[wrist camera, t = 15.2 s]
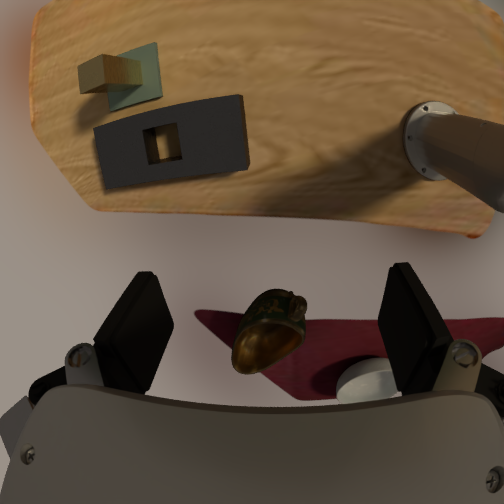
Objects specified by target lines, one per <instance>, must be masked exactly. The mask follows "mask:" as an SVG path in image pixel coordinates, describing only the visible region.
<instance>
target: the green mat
mask: <svg viewBox="0 0 504 504" xmlns="http://www.w3.org/2000/svg"><path fill="white" fill-rule="evenodd" d="M117 56H118V57H124V58H129V59H134V60H139V61H141V69H142V78H143V85H140V86H137V87H134V88H131V89H128V90H125V91H122V92H108V100H109V107H110V111H114V110H117V109H120V108H123V107H126V106H130V105H133V104H136V103H140V102H143V101H147V100H151V99H154V98H158V97H162V96H163V94H162V86H161V78H160V69H159V59H158V49H157V43H155V42H154V43H151V44H147V45H144V46H142V47H139V48H136V49H133V50H130V51H128V52H125V53H122V54H120V55H117Z"/></svg>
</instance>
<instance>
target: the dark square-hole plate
mask: <svg viewBox="0 0 504 504" xmlns="http://www.w3.org/2000/svg"><path fill="white" fill-rule="evenodd" d="M176 122H177V128H178V134H179V141H180V147H181V153H182V156H176V157H170V158H164V159H160V158H159V152H158V147H157V141H156V135H155V129H154V127H157V126H161V125H166V124H171V123H176ZM93 130H94V136H95V141H96V146H97V151H98V156H99V161H100V165H101V170H102V174H103V178H104V182H105V186H106V189H111V188H117V187H122V186H127V185H133V184H139V183H145V182H151V181H158V180H164V179H171V178H178V177H186V176H194V175H202V174H212V173H221V172H232V171H243V170H248V168H249V165H250V156H249V147H248V138H247V128H246V119H245V110H244V101H243V96H242V95H239V94H238V95H230V96H222V97H216V98H209V99H203V100H198V101H192V102H187V103H182V104H177V105H172V106H168V107H164V108H159V109H155V110H151V111H147V112H144V113H140V114H136V115H133V116H129V117H126V118H123V119H119V120H116V121H113V122H110V123H107V124H104V125H101V126H98V127H95V128H93Z"/></svg>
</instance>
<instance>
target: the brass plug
mask: <svg viewBox="0 0 504 504" xmlns="http://www.w3.org/2000/svg"><path fill="white" fill-rule="evenodd" d="M78 78H79V88H80V94H89V93H105V92H122V91H125V90H128V89H131V88H134V87H137V86H140V85H143V78H142V69H141V61H139V60H134V59H129V58H124V57H118V56H112V55H106V54H101V55H99V56H97V57H95V58H93V59H91V60H89V61H87V62H85V63H83V64H81V65H79V66H78Z"/></svg>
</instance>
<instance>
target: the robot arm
mask: <svg viewBox="0 0 504 504" xmlns="http://www.w3.org/2000/svg"><path fill="white" fill-rule="evenodd" d="M423 107H424V109H423ZM408 136H409V138H408ZM403 142H404V148H405V152H406V155H407V157H408V160H409V161H410V163H411V164H412V166H413V167H414V168H415V169H416V170H417V172H419V173H420V174H422V175H423V176H425V177H427V178H429V179H432V180H439V181H440V180H446V179H449V180H451V181H452V182H454V183H455V184H457V185H459V186H460V187H462V188H463V189H465V190H467V191H468V192H470V193H471V194H473V195H474V196H476V197H477V198H478V199H480V200H482V201H483V202H485V203H486V204H487V205H489V206H490V207H492V208H493V209H495V210H496V211H499V212H501V213H504V125H502V124H498V123H495V122H491V121H487V120H482V119H478V118H473V117H469V116H464V115H459V114H458V113H457V112H456V111H455V110H454V109H453V108H452V107H450V106H449V105H447V104H445V103H442V102H439V101H427V102H423V103H421V104H419V105H418V106H416V107H415V108H414V109H413V110H412V111H411V113H410V114H409V116H408V118H407V120H406V123H405V127H404V132H403ZM422 168H423V169H422ZM378 326H379V329H380V332H381V336H382V339H383V342H384V345H385V348H386V352H387V355H388V358H389V362H390V365H391V369H392V373H393V376H394V380H395V384H396V388H397V390H398V391H399V392H400V391H401V392H402V396H400V397H394V398H387V399H380V400H373V401H365V402H357V403H348V404H338V405H325V406H307V407H247V406H228V405H216V404H206V403H196V402H188V401H180V400H173V399H167V398H160V397H154V396H149V395H145V392H146V391H148V390H149V389H150V387H151V384H152V381H153V379H154V376H155V374H156V371H157V369H158V366H159V364H160V361H161V359H162V356H163V353H164V351H165V349H166V346H167V343H168V341H169V339H170V336H171V334H172V331H173V329H174V323H173V319H172V317H171V314H170V311H169V309H168V306H167V303H166V301H165V298H164V295H163V292H162V289H161V286H160V283H159V281H158V278H157V276H156V275H154V274H153V273H152V272H151V271H149V272H148V271H145V272H143V271H142V272H138V273H137V274H136V275H135V277H134V278H133V280H132V281H131V282H130V284H129V285H128V287H127V288H126V290H125V291H124V293H123V294H122V296H121V297H120V298H119V300H118V301H117V303H116V304H115V306H114V308H113V309H112V310H111V312H110V313H109V315H108V317H107V318H106V319H105V321H104V323H103V324H102V326H101V327H100V329H99V331H98V332H97V334H96V335H95V337H94V338H93V340H94V342H95V343H94V345H93V346H92V345H91V344H89V343H81V344H78V345H76V346H74V347H73V348H71V349H70V351H69V352H68V353H67V355H66V357H65V366H63V367H61V368H59V369H57V370H55V371H53V372H51V373H49V374H47V375H45V376H43V377H41V378H39V379H37V380H36V381H35V382H34V383H33V384H32V385H31V387H30V389H29V397H27V396H24V397H23V398H22V399H21V400H20V401H19V402H17V403H16V404H15V405H14V406H13V407H12V408H11V409H9V410H8V411H7V412H6V413H5V414H4V415H3V416H2V417H1V418H0V435H1V437H2V440H3V443H4V445H5V448H6V450H7V453H8V455H9V457H10V463H9V466H8V468H7V472H6V475H5V478H4V482H3V486H2V490H1V494H0V504H504V374H502V373H500V372H498V371H496V370H494V369H492V368H490V367H488V366H486V365H484V364H483V363H482V355H481V352H480V350H479V348H478V347H477V346H476V345H475V344H474V343H472V342H471V341H469V340H465V339H458V340H455V341H454V340H453V338H452V336H451V334H450V332H449V330H448V328H447V326H446V324H445V322H444V321H443V319H442V317H441V315H440V313H439V311H438V310H437V308H436V306H435V304H434V303H433V301H432V299H431V297H430V296H429V295H428V293H427V291H426V290H425V288H424V286H423V284H422V283H421V281H420V280H419V278H418V276H417V275H416V273H415V272H414V270H413V269H412V267H411V265H410V264H409V263H408V262H404V263H395V264H394V265H393V267H390V268H389V272H388V278H387V282H386V287H385V291H384V295H383V300H382V304H381V308H380V312H379V316H378Z"/></svg>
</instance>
